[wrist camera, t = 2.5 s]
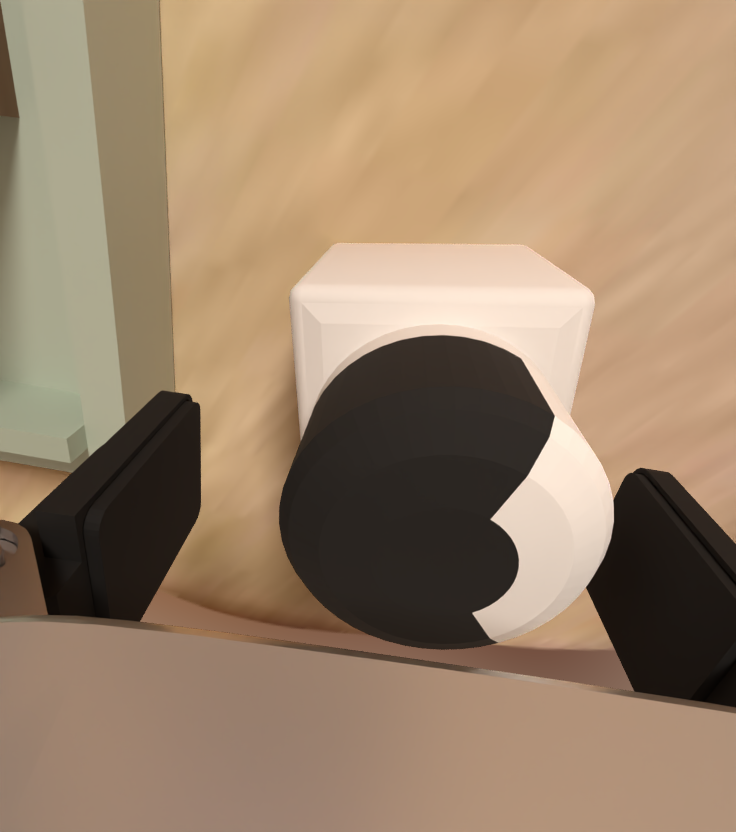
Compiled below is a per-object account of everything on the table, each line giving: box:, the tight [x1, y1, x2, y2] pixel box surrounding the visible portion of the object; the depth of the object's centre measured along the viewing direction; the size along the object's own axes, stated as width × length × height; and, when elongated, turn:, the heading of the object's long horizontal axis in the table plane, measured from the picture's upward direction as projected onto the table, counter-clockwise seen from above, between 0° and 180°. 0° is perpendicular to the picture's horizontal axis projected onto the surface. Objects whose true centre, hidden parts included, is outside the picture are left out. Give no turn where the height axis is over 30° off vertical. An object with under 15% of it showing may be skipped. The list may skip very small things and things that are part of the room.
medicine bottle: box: [279, 243, 614, 650], centre depth 13 cm, size 7×7×12 cm
